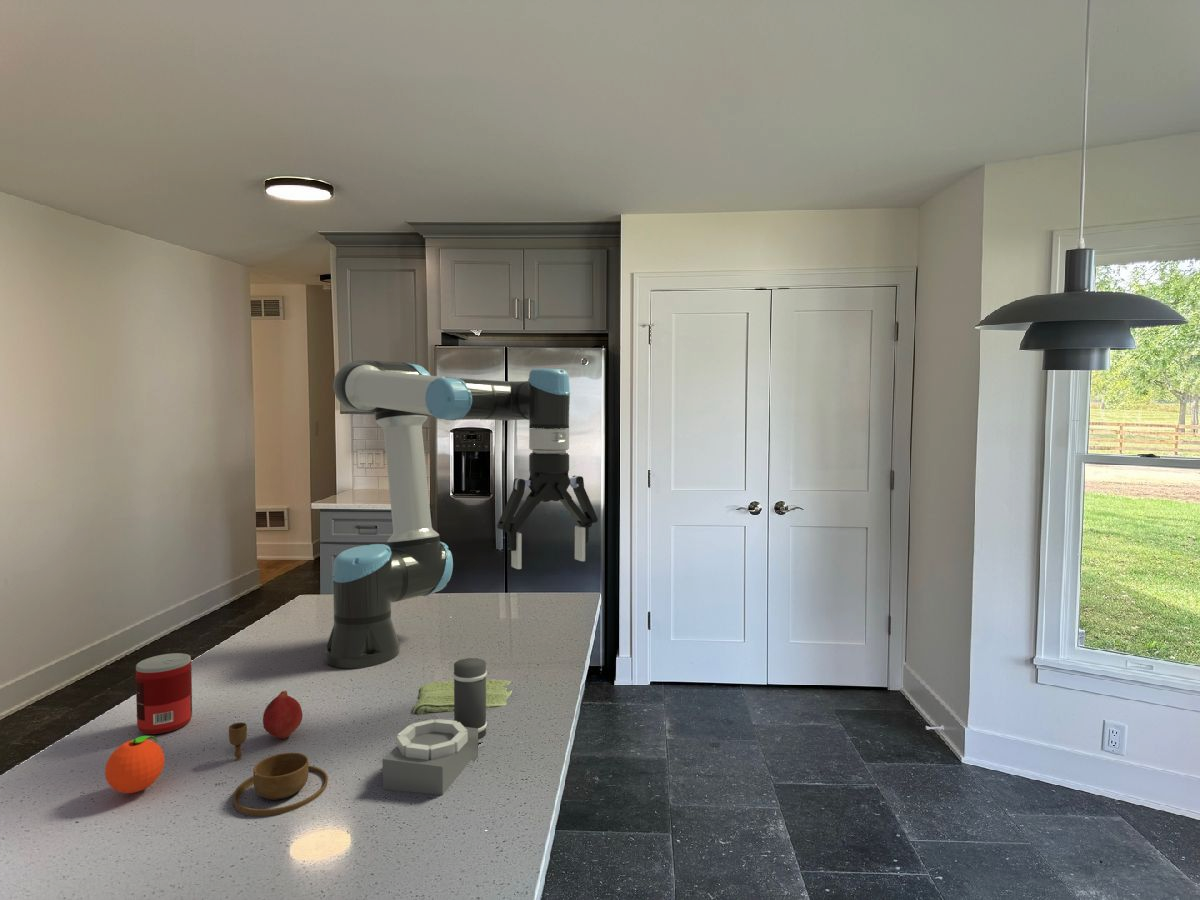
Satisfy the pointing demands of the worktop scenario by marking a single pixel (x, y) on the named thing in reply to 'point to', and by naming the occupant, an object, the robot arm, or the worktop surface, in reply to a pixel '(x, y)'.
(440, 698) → the washcloth
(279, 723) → the onion
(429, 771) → the block with octagonal ring
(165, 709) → the canned food
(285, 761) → the place setting
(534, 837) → the worktop surface
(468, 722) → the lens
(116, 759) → the clementine
